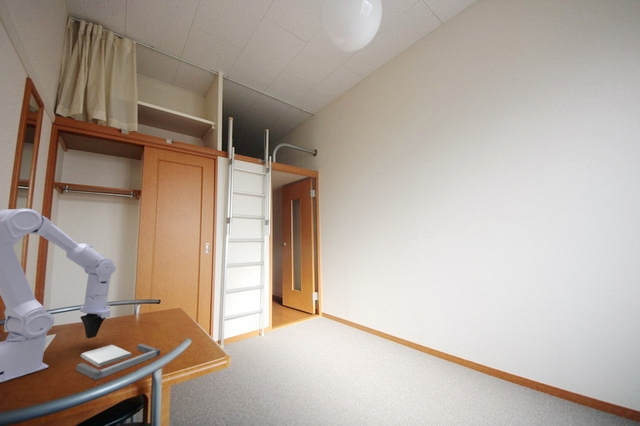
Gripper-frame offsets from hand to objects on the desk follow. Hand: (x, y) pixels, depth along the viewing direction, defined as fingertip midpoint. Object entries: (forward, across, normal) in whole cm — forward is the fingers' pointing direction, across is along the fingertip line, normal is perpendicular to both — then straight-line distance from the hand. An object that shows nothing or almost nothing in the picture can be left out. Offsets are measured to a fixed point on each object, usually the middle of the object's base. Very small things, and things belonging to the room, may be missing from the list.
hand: (91, 337), depth 81 cm
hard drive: (+5, -10, 0) cm, 11 cm away
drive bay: (+4, -18, 0) cm, 19 cm away
